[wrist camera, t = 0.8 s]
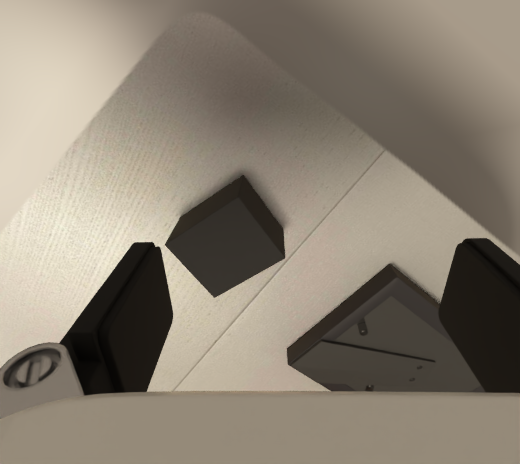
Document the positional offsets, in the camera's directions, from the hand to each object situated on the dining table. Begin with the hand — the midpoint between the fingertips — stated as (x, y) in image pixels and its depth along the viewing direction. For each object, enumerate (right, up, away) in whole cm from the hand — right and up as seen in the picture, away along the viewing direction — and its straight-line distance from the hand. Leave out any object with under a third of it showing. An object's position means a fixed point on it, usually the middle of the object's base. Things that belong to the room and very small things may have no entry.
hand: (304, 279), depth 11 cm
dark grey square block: (-4, +2, +16) cm, 17 cm away
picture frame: (+12, -11, +23) cm, 28 cm away
